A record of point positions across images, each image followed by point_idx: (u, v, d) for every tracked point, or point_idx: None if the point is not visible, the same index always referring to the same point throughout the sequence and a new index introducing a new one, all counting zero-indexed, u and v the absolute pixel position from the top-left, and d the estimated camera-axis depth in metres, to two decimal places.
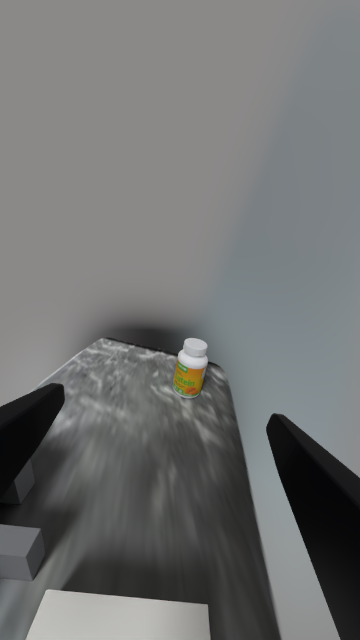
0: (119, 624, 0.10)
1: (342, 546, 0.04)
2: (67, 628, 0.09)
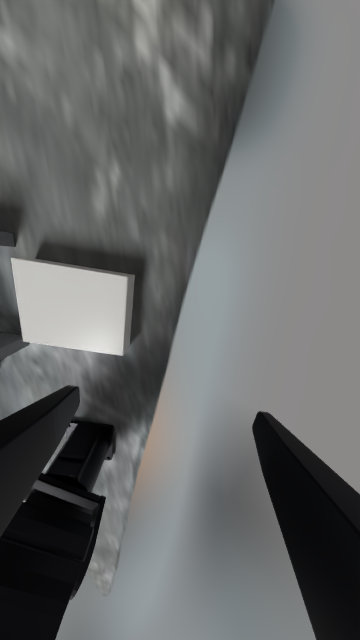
0: (67, 276, 0.15)
1: (318, 544, 0.04)
2: (35, 274, 0.15)
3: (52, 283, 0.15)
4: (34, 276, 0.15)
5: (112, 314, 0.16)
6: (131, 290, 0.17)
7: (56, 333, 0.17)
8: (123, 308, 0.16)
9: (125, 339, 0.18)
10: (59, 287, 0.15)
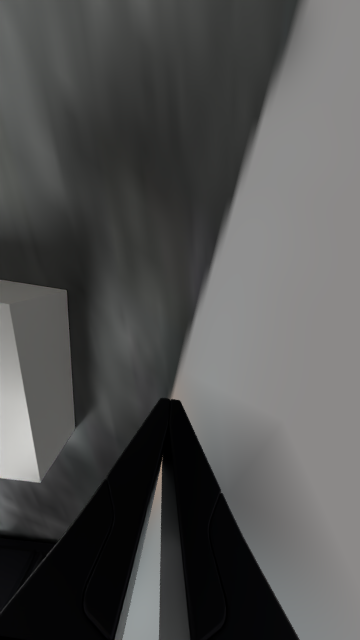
0: None
1: (168, 527, 0.04)
2: None
3: None
4: None
5: None
6: (54, 329, 0.07)
7: None
8: (18, 387, 0.06)
9: (47, 442, 0.07)
10: None
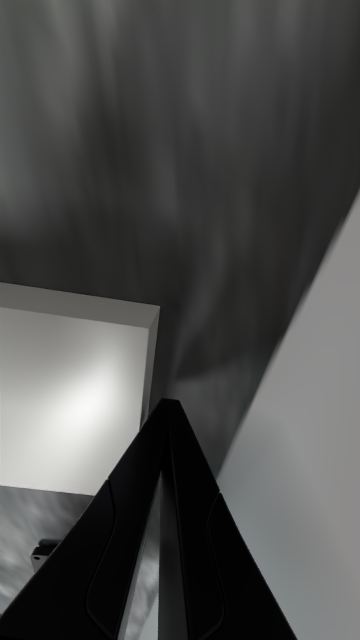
0: None
1: (167, 527, 0.04)
2: None
3: None
4: None
5: (104, 422, 0.06)
6: (153, 347, 0.07)
7: None
8: (135, 408, 0.06)
9: None
10: None
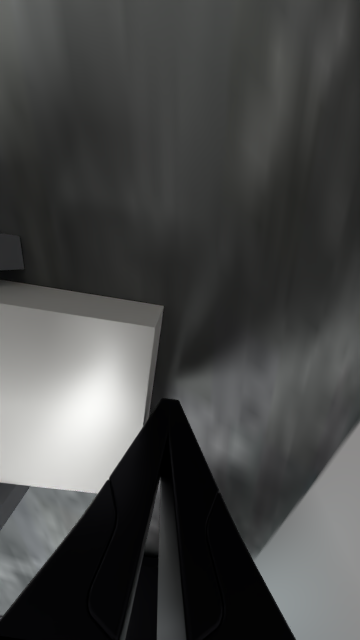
0: None
1: (165, 527, 0.04)
2: None
3: None
4: None
5: (108, 419, 0.06)
6: (156, 346, 0.07)
7: None
8: (139, 406, 0.06)
9: None
10: None
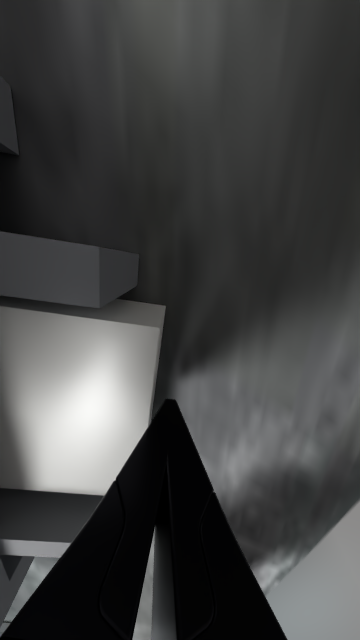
0: None
1: (160, 526, 0.04)
2: None
3: None
4: None
5: (113, 421, 0.06)
6: (159, 346, 0.07)
7: None
8: (144, 407, 0.06)
9: None
10: None
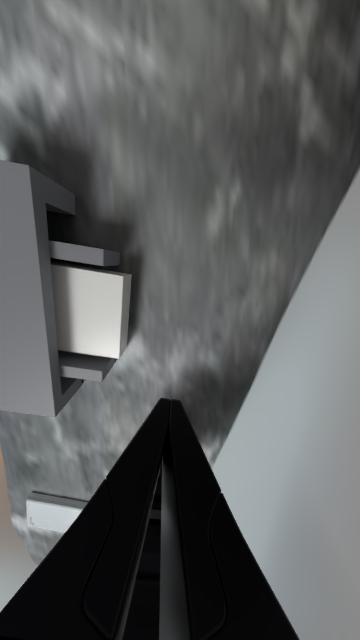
0: (60, 276, 0.14)
1: (168, 527, 0.04)
2: None
3: None
4: None
5: (107, 315, 0.15)
6: (128, 290, 0.16)
7: None
8: (119, 309, 0.15)
9: (121, 341, 0.17)
10: None
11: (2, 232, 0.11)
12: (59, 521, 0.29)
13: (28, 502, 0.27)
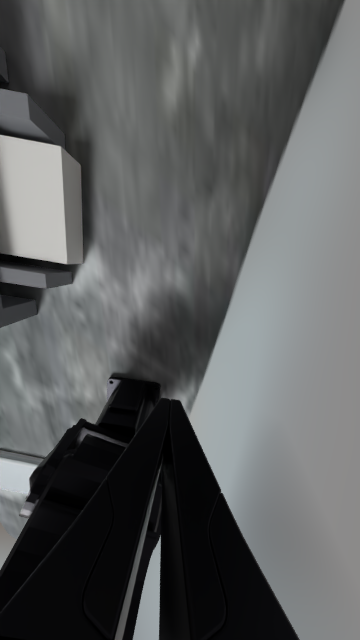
0: None
1: (168, 527, 0.04)
2: None
3: None
4: None
5: (48, 203, 0.13)
6: (75, 181, 0.14)
7: None
8: (60, 194, 0.13)
9: (70, 245, 0.15)
10: None
11: None
12: (26, 482, 0.27)
13: None
